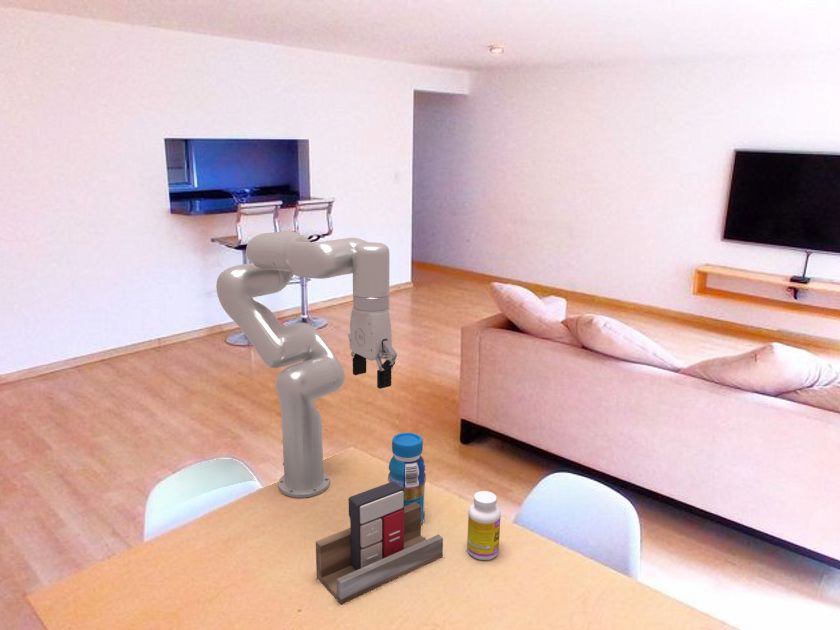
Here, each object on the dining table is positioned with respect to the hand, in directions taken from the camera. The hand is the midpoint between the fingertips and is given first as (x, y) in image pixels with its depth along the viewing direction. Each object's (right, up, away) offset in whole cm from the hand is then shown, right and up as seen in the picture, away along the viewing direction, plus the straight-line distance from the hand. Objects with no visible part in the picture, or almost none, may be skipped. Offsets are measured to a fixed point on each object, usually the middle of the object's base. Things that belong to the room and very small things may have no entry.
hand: (371, 380), depth 136 cm
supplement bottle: (+24, -36, -3) cm, 43 cm away
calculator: (+2, -36, -8) cm, 37 cm away
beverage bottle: (+7, -33, +8) cm, 34 cm away
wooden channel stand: (+3, -37, -9) cm, 38 cm away
